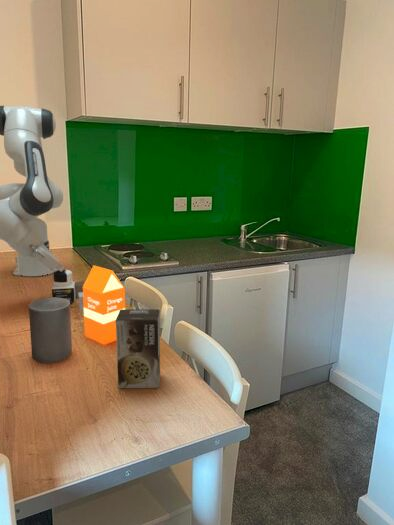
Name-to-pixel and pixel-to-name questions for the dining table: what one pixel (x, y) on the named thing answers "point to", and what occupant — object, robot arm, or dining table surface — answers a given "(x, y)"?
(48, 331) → the pillar candle
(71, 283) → the medicine bottle
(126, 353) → the coffee box
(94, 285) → the orange juice
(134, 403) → the dining table surface
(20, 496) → the dining table surface
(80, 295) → the grey painted block
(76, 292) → the walnut block
